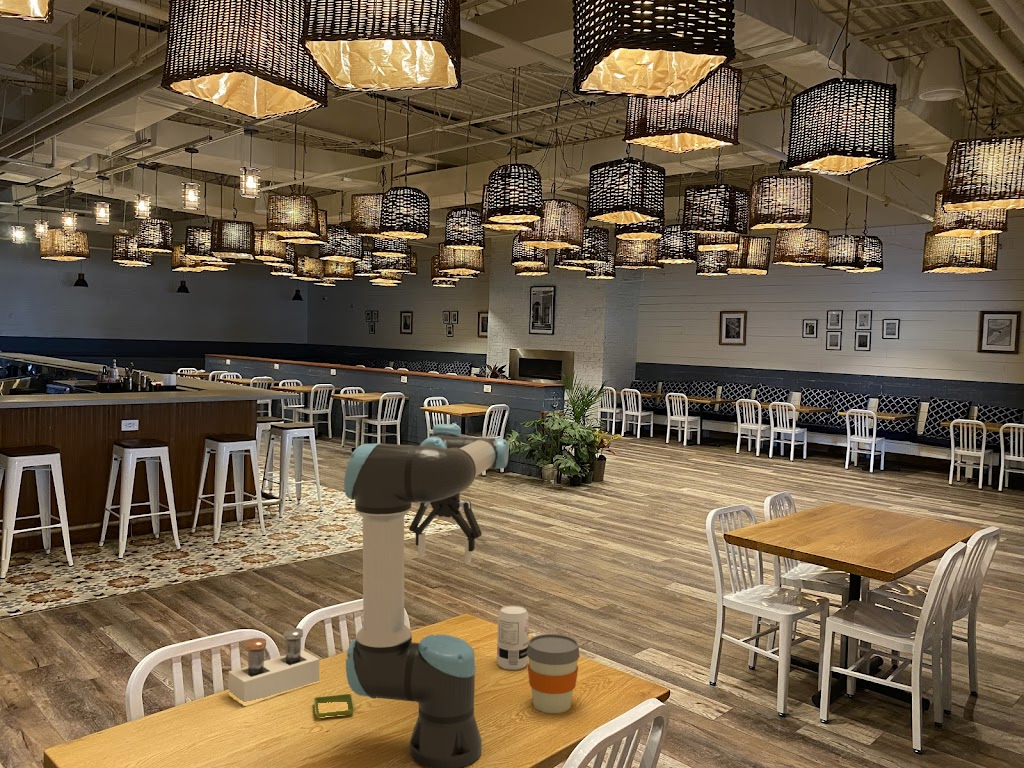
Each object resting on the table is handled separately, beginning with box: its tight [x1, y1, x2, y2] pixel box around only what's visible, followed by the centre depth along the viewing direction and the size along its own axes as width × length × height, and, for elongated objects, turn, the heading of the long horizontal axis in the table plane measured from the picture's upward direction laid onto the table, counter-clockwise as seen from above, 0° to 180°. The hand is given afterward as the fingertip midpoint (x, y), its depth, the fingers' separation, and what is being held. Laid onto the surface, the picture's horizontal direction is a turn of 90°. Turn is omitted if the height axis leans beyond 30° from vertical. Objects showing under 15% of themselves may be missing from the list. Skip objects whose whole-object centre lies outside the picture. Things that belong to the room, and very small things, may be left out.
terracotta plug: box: [245, 637, 267, 677], centre depth 192 cm, size 5×5×8 cm
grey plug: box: [283, 627, 304, 665], centre depth 199 cm, size 5×5×8 cm
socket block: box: [227, 649, 320, 702], centre depth 196 cm, size 20×8×6 cm, turn 135°
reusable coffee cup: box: [527, 633, 580, 714], centre depth 190 cm, size 13×13×15 cm
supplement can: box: [496, 605, 530, 671], centre depth 213 cm, size 8×8×15 cm
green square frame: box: [313, 693, 355, 718], centre depth 185 cm, size 9×9×2 cm
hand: (444, 560), depth 215 cm, fingers open, 13 cm apart
